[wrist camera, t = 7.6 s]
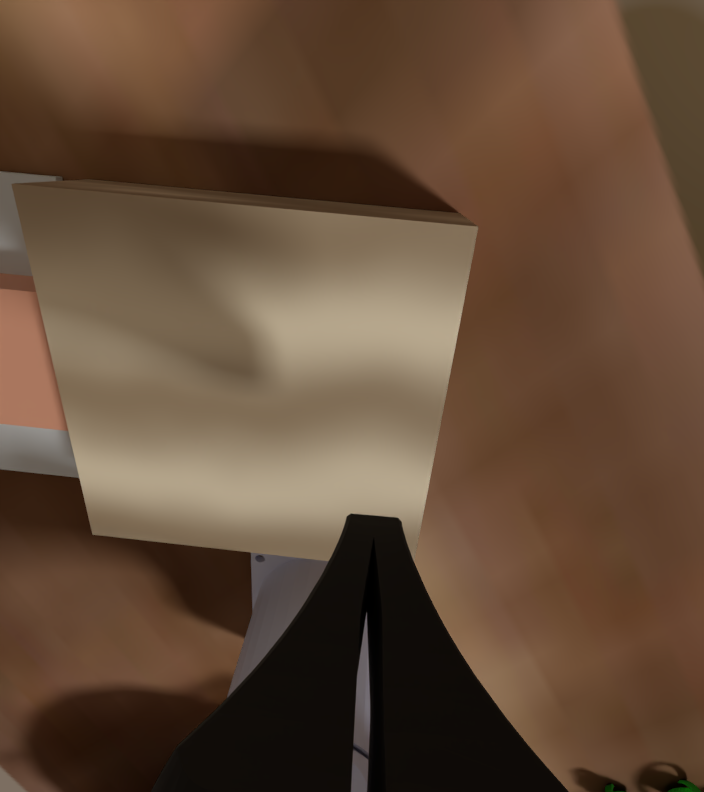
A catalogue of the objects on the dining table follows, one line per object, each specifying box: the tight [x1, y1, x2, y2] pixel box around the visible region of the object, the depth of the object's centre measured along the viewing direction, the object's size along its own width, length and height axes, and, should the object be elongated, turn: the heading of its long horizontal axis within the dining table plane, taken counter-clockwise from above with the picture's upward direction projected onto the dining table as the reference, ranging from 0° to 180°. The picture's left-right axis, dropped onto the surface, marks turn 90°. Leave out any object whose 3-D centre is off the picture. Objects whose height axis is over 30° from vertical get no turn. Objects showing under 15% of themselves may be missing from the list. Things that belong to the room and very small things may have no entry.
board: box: [12, 179, 478, 561], centre depth 19 cm, size 14×14×4 cm
